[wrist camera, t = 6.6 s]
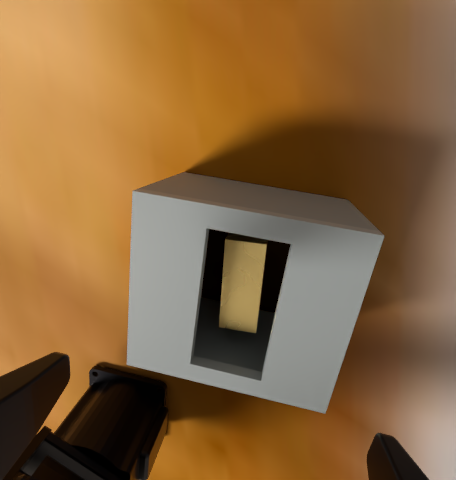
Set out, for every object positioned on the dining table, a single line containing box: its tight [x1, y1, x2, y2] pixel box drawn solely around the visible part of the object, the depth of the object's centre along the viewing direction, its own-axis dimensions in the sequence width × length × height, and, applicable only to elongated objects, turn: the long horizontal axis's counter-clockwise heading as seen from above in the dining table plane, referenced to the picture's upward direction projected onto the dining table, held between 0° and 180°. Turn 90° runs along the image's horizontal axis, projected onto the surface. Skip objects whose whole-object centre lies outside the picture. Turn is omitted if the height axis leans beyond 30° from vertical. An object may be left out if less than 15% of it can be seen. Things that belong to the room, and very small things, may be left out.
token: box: [219, 233, 268, 333], centre depth 18 cm, size 2×5×5 cm, turn 176°
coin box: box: [127, 172, 384, 413], centre depth 17 cm, size 10×9×7 cm
